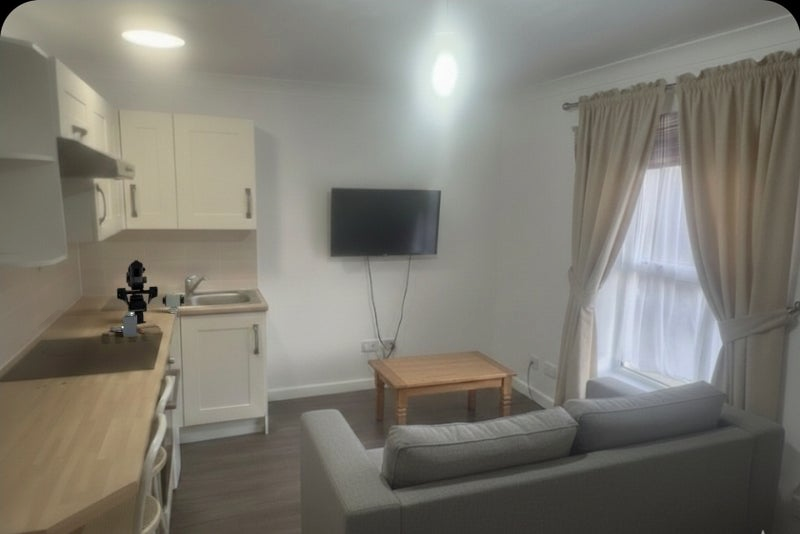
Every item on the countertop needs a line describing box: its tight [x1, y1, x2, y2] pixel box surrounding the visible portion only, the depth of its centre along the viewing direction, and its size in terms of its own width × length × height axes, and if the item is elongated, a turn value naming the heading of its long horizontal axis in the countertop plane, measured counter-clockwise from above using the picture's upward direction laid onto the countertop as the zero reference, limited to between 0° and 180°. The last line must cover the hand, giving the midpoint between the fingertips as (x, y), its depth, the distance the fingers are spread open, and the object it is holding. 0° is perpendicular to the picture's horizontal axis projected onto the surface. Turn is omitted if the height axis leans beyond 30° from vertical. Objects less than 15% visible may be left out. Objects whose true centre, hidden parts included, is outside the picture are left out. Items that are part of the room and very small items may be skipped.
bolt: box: [109, 324, 124, 333], centre depth 258 cm, size 7×4×4 cm, turn 83°
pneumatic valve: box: [161, 293, 186, 315], centre depth 305 cm, size 6×12×12 cm, turn 106°
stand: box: [137, 323, 162, 334], centre depth 262 cm, size 9×9×2 cm
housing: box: [122, 310, 138, 338], centre depth 252 cm, size 4×6×12 cm
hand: (138, 304), depth 258 cm, fingers open, 9 cm apart
